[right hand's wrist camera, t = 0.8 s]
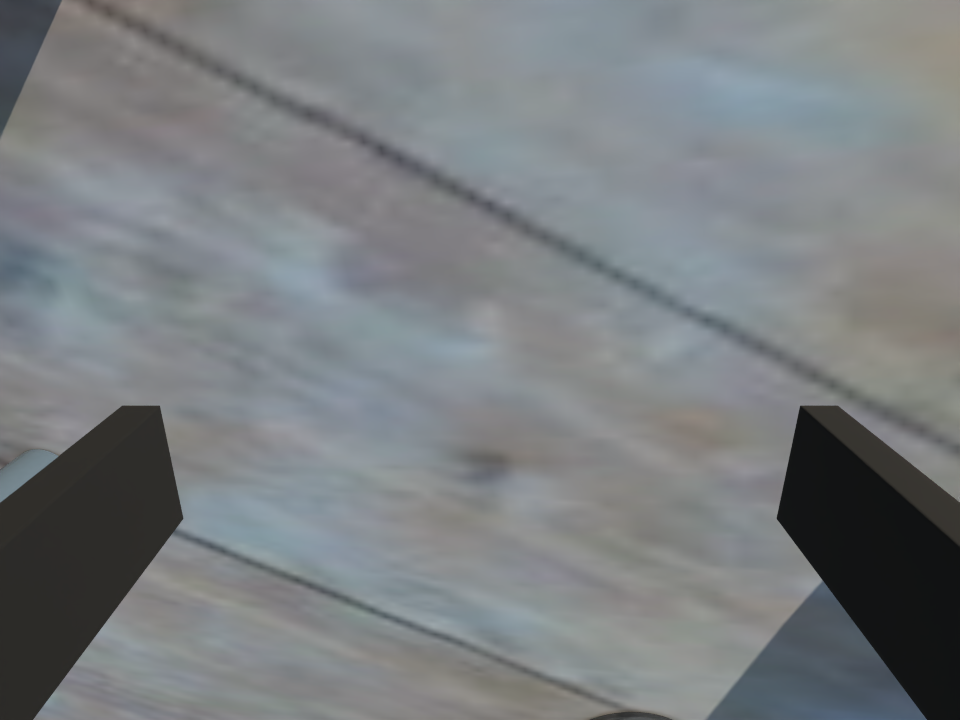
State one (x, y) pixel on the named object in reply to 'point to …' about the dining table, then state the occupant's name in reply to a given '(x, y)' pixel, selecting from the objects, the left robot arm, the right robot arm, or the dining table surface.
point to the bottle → (23, 470)
